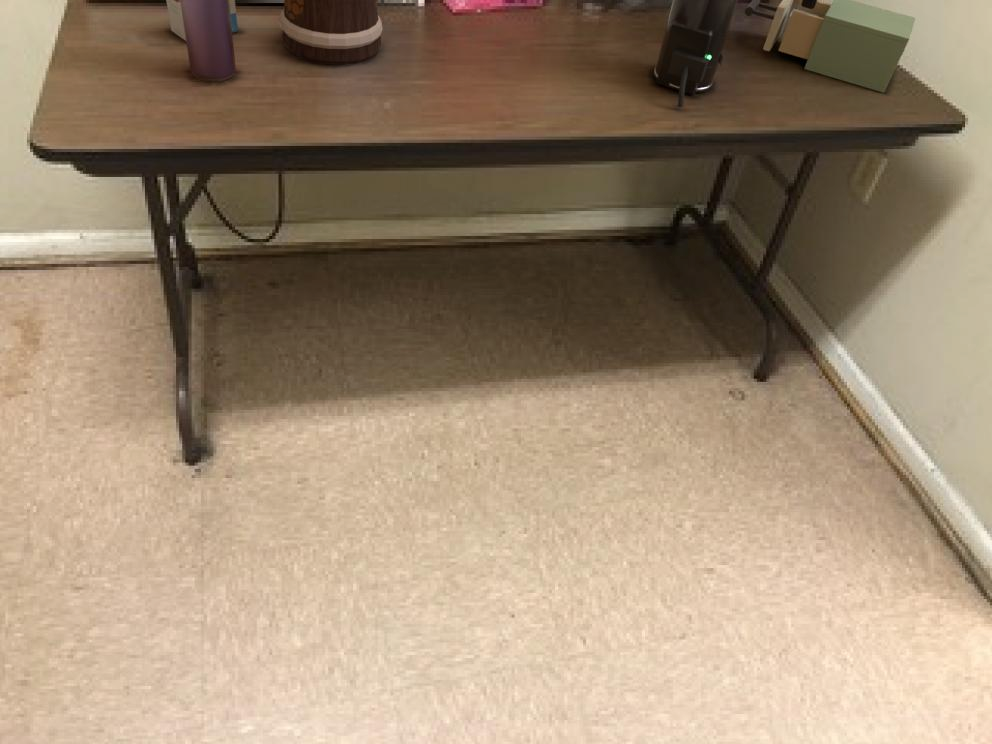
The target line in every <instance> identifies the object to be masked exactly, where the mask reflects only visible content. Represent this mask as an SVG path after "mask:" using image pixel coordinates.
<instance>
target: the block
mask: <svg viewBox="0 0 992 744" xmlns="http://www.w3.org/2000/svg"><path fill="white" fill-rule="evenodd" d="M797 9H798V8H793V10H797ZM793 10H792V11H791V12H790V14H789V15H788V17H787V20H786V23H785V26H784V28H783V31H782V34H781V38H780V40H779V43H781V42H782V39H783V37H784V34H785V31H786V28H787V26H788V23H789V20H790V17H791V15H792V12H793ZM797 11H801V10H797ZM801 12H804V11H801ZM804 13H808V12H804ZM808 14H811V13H808ZM811 15H815V14H811ZM815 16H818V15H815ZM818 17H819V16H818Z"/></svg>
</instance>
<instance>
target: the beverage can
mask: <svg viewBox="0 0 992 744" xmlns="http://www.w3.org/2000/svg"><path fill="white" fill-rule="evenodd" d="M180 1H181V8H182V15H183V22H184V29H185V36H186V41H185V42H186V48H187V56H188V62H189V63H188V64H189V69H190V72H191V73H192V74H193V76H194V77H195V78H197V79H199V80H201V81H205V82H211V83H212V82H217V83H218V82H223V81H226V80H230V79H231V78H232V77H233V76H234V74H235V73H236V70H237V67H236V59H235V58H236V56H235V47H234V39H233V37H234V36H233V33H232V27H231V17H230V8H229V0H180Z"/></svg>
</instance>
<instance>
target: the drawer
mask: <svg viewBox="0 0 992 744" xmlns="http://www.w3.org/2000/svg"><path fill="white" fill-rule="evenodd" d="M793 3H794V0H781V2H780V3H779V5H778V6H774V5H771V4H767V3H763V2H761V0H751V1H750V3H749V4H748V5H747V6H746V7H745V9H744V14H745V16H746V17H751V16H752V15H755V16H757V17H762V18H766V19H769V20H772V22H771V26H770V27H769V30H768V34H767V36H766V39H765V43H764V45H763V48H762V50H763V51H766V52H771V50H772V48H773V47H774V45H775V44H776V42H777V41H778V39H779V37H780V36H782V34H783V31H784V28H785V26H786V23H787V20H788V17H789V15H790V14H789V13H790V11H791V8H792V6H793ZM801 3H802V0H800V1H799V4H798V7H797V8H796V9H797V10H801V11H804V12H808V13H811V14H815V15H818V16H819V17H818V16H815V15H811V14H808V13H804V12H801V11H797V10H792V11H793V12H792V11H791V13H792V15H791V17H790V20H789V23H788V26H787V28H786V31H785V34H784V37H783V39H782V42H780V45H779V48H778V52H781V53H784V54H787V55H790V56H791V55H792V56H794V57H798V58H800V59H805V60H808V58H809V55H810V53H811V50H812V48H813V45H814V43H815V40H816V38H817V35H818V32H819V30H820V27H821V25H822V22H823V20H824V17H825V15H826V13H827V11H828V10H829V8H830V6H831V4H832V3H828V2H826V1H820V0H817V2H816V5H815V7H814V8H813V9H809V8H805V7H802V5H801ZM758 8H762V9H765V10H769V11H772V12H775V14H771V13H768V12H764V11H761V10H757V9H758Z"/></svg>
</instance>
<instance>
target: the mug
mask: <svg viewBox="0 0 992 744" xmlns="http://www.w3.org/2000/svg"><path fill="white" fill-rule="evenodd" d="M378 11H379V10H378V2H377V0H284V1H283V10H282V11H281V12H280V15H279V25H280V28H281V39H282V43H283V45H284V46H285V47H286V48H287V49H288V50H289V51H290V52H291V53H292V54H294V55H295V56H298V57H300V58H302V59H304V60H307V61H311V62H314V63H318V64H319V63H320V64H326V65H349V64H357V63H360V62H363V61H366V60H368V59H370V58H372V57H373V56H374V55H375V54H376V53H378V52H379V50H380V48H381V46H382V38H381V37H382V36H381V34H382V32H383V30H384V28H383V23H382V19H381V17H380V16H379V12H378Z"/></svg>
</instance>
